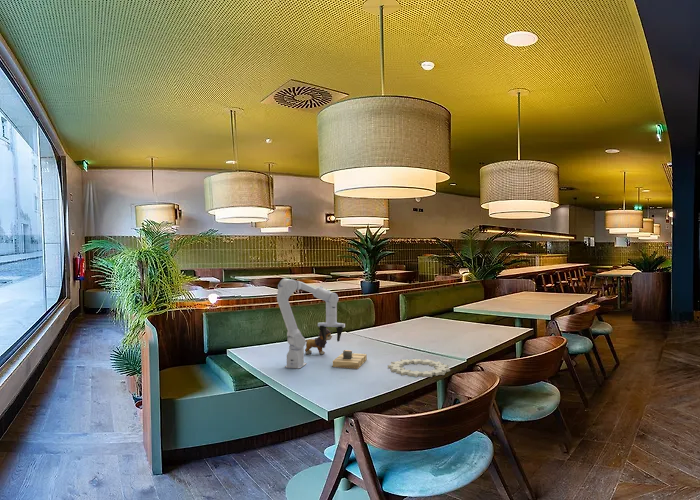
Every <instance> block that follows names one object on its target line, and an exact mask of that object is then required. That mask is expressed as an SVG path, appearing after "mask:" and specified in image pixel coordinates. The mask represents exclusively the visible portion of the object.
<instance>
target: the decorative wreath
mask: <svg viewBox="0 0 700 500" xmlns="http://www.w3.org/2000/svg"><path fill="white" fill-rule="evenodd" d="M411 364H414V365H417V364H419V365H421V364H422V365H423V366H424V365H428V366H430V367H433V369H432V370H425V371H419V370H411V369H406V368H405V367H404V365H405V366H406V365H407V366H408V365H411ZM387 369H390V372H391V373H395V374H399V375H401V376H404V375H405V376H408V377H414V378H418V377H422V378H425V377H428V378H433V376H445V374H446V373H449V372H451V368H449V364H444V363H442V362H441V361H440V360H439V361H435V360H431V359H428V358H427V359H422V358H419V359H418V358H413V359H400V360H397V361H391V363H390V364H389V365H387Z"/></svg>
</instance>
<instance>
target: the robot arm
mask: <svg viewBox="0 0 700 500" xmlns="http://www.w3.org/2000/svg"><path fill="white" fill-rule="evenodd" d="M299 290H302V291H305V292H309V293H311V294H312V295H313V298H316V299H319V300H322V301H324V302H325V322H324V321H323V322H317V327H318V330H319V332H320V331H321V334H322V337H323V341H325V340H326V328H336V336H337V337H336V340H337V342H340V341H341V335H342V333H343V330H344V328H346V323H342V322H338V321H337V320H338V312H337V311H338V302H339V299H340V298H339V295H338V294H337V293H336V292H332V291H331V290H330V289H325V288H324V286H322V285H319V286H316V287H314V286H312V285H309V284H307V283H305V282H303V281H300V280H296V279H290V278H285V277H284V278H282V279H281V280H280V281H279V282H278V284H277V293H276V301H277V303H278V307H279V309H280V313H281V315H282V318H283V321H284V325H285V327H286V330H287V333H286V336H287V343H288V345H289V347H288V349H289V351H288V352H287V353H286V365H284V368H288V369H289V368H290V369H301V368H303V367H304V366H306V365H307V362H304V361H305V359H304V356H305V355H304V352H305V346H306V341H305V340H306V338H305V337H304V336H303V335H302V332H301V330H300V329H299V327H298V325H297V322H296V318H295V316H294V313H293V310H292V307H291V304H290V302H289V299H290V297H291V296H292V294H294V293H295V291H299Z"/></svg>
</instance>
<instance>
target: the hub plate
mask: <svg viewBox="0 0 700 500" xmlns="http://www.w3.org/2000/svg"><path fill="white" fill-rule="evenodd" d="M367 355H368V354H367V353H355V352H354V353H353V352H352V358H351V359H343V357H344V356H343V352H342V353H341V354H340V355H338V356H337V357H336V358H334V359H332V367H333V368H339V369H340V368H341V369H357V370H358V369H359V368H360V367H361V366H362V365H363V364H364V363H365V362H366V361H367Z"/></svg>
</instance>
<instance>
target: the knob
mask: <svg viewBox="0 0 700 500" xmlns="http://www.w3.org/2000/svg"><path fill="white" fill-rule="evenodd" d="M342 353H343V356H344V357H343V359H351V358H352V353H353V350H349V349H343V350H342Z"/></svg>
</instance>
